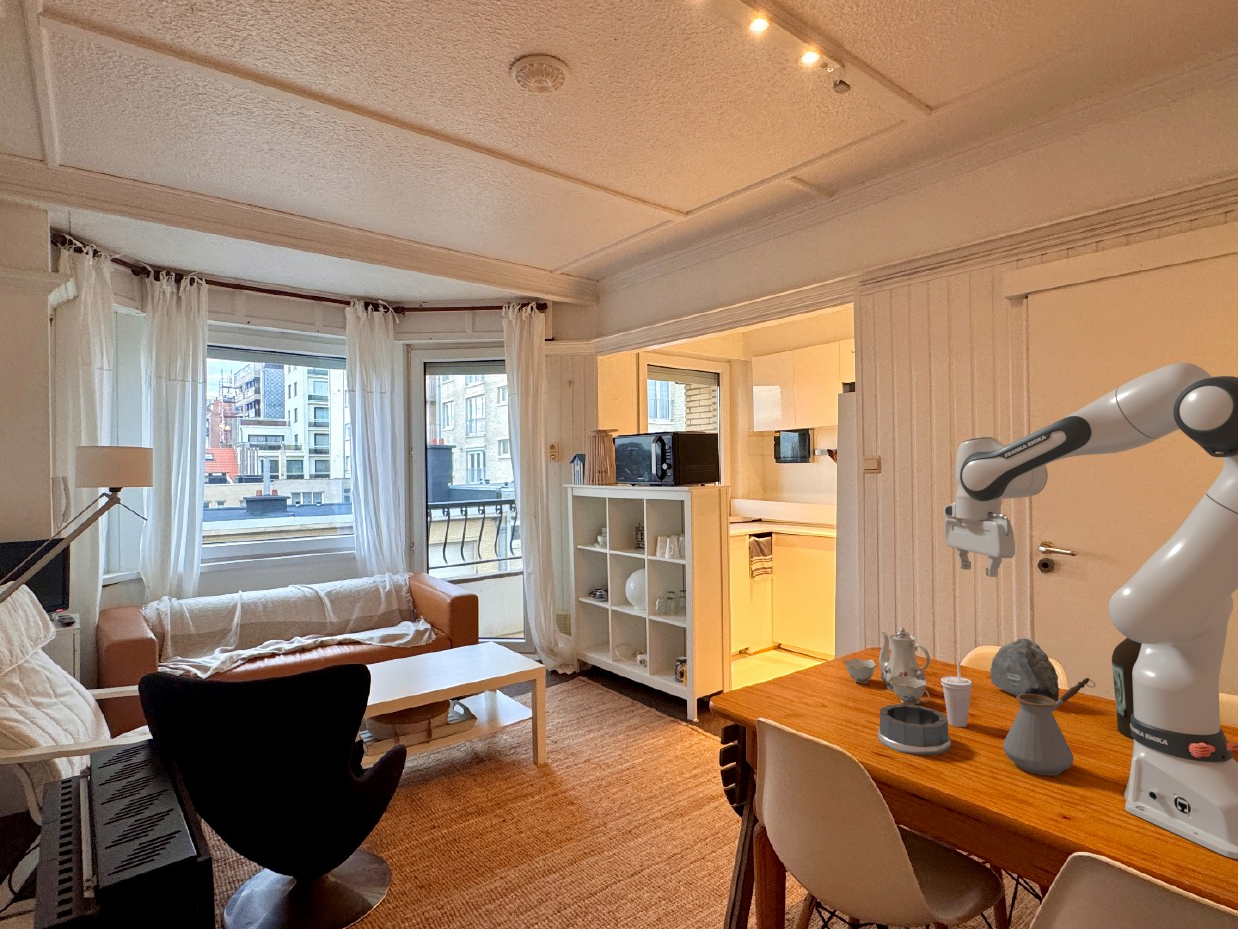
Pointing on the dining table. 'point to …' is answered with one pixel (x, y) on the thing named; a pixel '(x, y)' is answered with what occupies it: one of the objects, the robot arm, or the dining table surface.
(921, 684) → the chinaware
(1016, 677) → the decorative rock
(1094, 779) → the dining table surface
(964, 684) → the smoothie
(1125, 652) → the olive oil
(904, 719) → the ring
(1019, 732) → the coffee pot
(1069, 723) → the dining table surface
